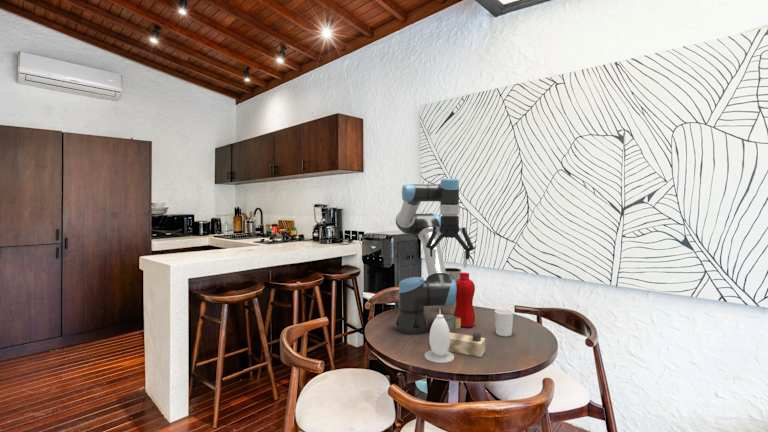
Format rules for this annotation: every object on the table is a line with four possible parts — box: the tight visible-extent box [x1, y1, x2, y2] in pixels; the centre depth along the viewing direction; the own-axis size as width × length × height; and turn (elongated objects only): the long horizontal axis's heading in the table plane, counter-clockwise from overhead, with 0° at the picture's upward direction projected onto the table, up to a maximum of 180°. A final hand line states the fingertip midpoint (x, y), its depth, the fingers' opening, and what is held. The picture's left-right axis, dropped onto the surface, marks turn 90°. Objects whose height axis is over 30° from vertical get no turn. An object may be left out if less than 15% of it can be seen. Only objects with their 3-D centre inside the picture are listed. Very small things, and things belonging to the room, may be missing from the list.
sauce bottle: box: [428, 309, 451, 356], centre depth 140 cm, size 8×8×18 cm
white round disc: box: [424, 349, 455, 364], centre depth 140 cm, size 11×11×1 cm
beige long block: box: [448, 331, 486, 358], centre depth 147 cm, size 20×7×8 cm, turn 62°
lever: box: [445, 315, 462, 331], centre depth 154 cm, size 14×4×4 cm, turn 131°
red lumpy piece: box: [453, 271, 476, 328], centre depth 178 cm, size 9×11×25 cm
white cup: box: [494, 308, 514, 337], centre depth 165 cm, size 8×8×10 cm
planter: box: [441, 267, 462, 315], centre depth 198 cm, size 10×10×23 cm
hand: (449, 265), depth 156 cm, fingers open, 13 cm apart
